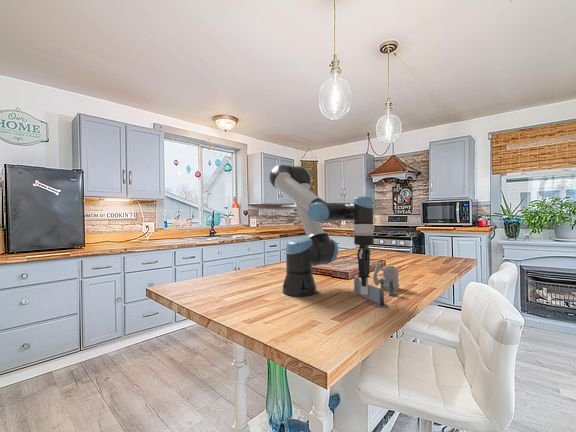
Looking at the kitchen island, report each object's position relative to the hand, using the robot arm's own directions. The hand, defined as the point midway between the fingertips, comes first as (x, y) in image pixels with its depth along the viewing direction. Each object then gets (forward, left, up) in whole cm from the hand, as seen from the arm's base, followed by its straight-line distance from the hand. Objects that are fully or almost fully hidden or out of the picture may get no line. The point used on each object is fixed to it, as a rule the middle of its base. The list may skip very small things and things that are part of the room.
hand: (364, 293), depth 111 cm
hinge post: (+7, -4, -3) cm, 9 cm away
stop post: (+9, +12, -3) cm, 15 cm away
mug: (+5, +22, -3) cm, 23 cm away
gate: (+1, +2, -2) cm, 3 cm away
